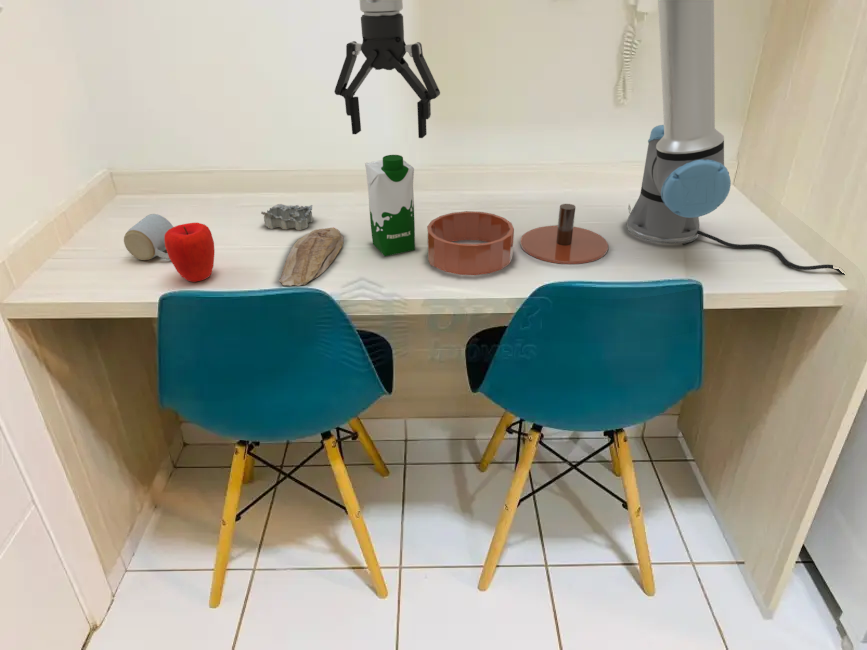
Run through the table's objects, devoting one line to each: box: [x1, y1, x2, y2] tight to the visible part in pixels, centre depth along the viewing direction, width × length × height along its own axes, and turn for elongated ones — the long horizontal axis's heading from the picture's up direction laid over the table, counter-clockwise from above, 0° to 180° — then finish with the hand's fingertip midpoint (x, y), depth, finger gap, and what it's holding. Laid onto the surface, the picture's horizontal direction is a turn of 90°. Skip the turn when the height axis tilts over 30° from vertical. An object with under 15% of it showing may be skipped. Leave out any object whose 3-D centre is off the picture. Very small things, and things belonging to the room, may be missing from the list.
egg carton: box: [260, 203, 314, 231], centre depth 146 cm, size 11×8×4 cm
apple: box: [165, 222, 215, 283], centre depth 122 cm, size 9×9×11 cm
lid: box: [519, 203, 609, 265], centre depth 131 cm, size 18×18×9 cm
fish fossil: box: [278, 227, 344, 287], centre depth 131 cm, size 26×10×1 cm, turn 179°
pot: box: [426, 210, 515, 276], centre depth 128 cm, size 17×17×7 cm
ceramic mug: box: [123, 213, 174, 261], centre depth 131 cm, size 11×8×8 cm
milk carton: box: [364, 154, 416, 257], centre depth 130 cm, size 9×9×20 cm
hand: (389, 134), depth 122 cm, fingers open, 13 cm apart
